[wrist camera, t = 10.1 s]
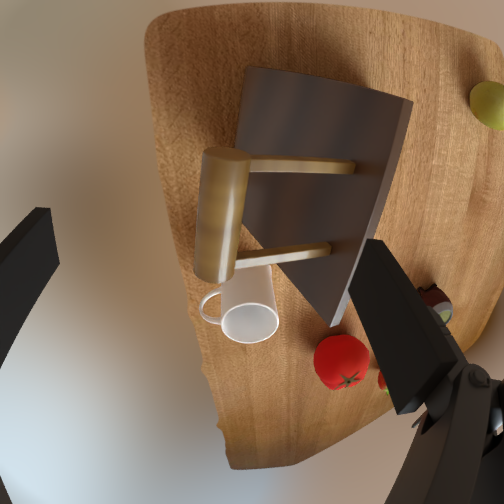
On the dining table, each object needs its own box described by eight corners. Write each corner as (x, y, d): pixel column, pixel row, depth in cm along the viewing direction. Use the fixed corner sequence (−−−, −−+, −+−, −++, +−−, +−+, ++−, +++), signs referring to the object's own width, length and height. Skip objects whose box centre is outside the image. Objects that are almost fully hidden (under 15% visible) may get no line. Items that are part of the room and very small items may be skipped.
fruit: (370, 373, 74) (379, 399, 68) (380, 361, 72) (390, 386, 65) (386, 374, 75) (395, 398, 69) (396, 361, 73) (407, 386, 66)
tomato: (297, 351, 67) (306, 394, 57) (331, 316, 62) (346, 360, 52) (338, 363, 70) (350, 403, 61) (371, 332, 65) (388, 372, 56)
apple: (454, 93, 38) (506, 97, 29) (474, 73, 38) (522, 76, 29) (470, 135, 42) (518, 145, 33) (488, 113, 41) (533, 120, 33)
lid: (414, 102, 14) (239, 58, 10) (339, 324, 22) (205, 360, 17) (255, 67, 28) (155, 58, 23) (234, 205, 35) (146, 211, 31)
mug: (205, 296, 57) (201, 348, 47) (196, 256, 52) (190, 306, 42) (272, 290, 57) (281, 341, 47) (270, 249, 52) (280, 298, 42)
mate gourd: (443, 289, 60) (477, 338, 48) (417, 313, 64) (446, 364, 51) (428, 274, 58) (464, 325, 45) (400, 300, 61) (431, 355, 48)
